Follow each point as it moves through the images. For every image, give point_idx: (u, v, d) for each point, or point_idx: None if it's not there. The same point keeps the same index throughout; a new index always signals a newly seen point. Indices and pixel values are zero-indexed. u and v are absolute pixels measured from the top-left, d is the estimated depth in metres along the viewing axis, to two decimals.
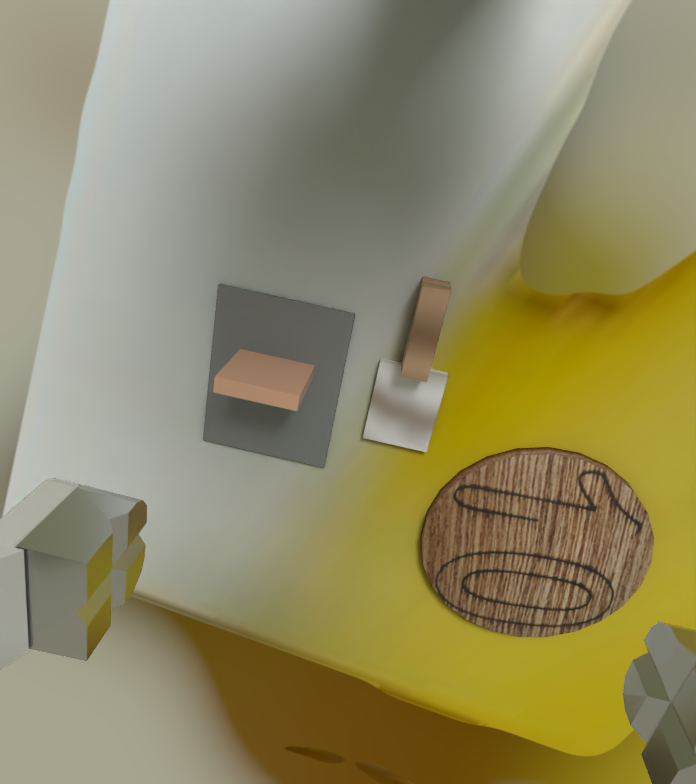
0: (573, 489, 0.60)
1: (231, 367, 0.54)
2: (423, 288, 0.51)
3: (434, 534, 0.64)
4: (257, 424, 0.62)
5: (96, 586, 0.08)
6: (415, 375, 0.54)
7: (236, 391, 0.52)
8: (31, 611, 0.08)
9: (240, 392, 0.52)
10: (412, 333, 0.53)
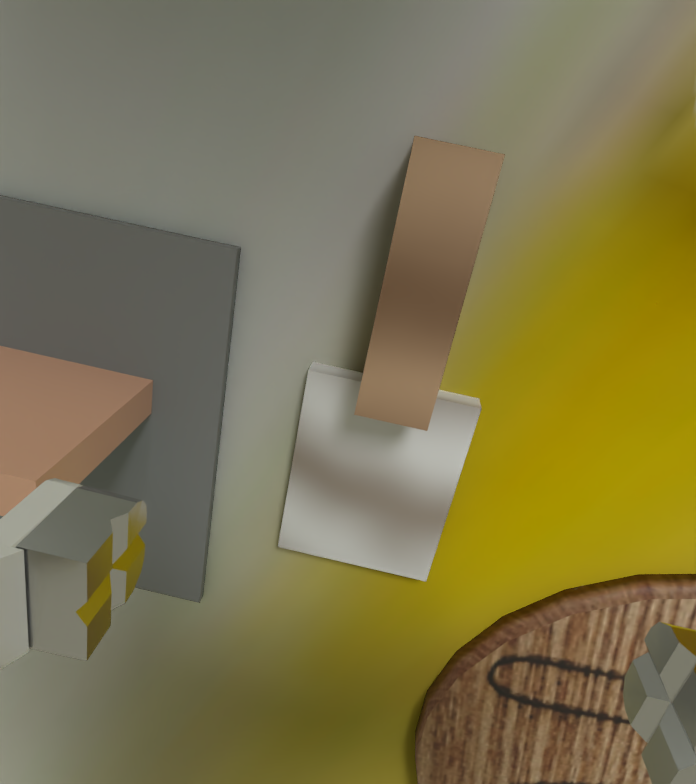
0: None
1: None
2: (416, 145, 0.16)
3: (442, 746, 0.29)
4: None
5: (96, 586, 0.08)
6: (395, 411, 0.19)
7: None
8: (31, 611, 0.08)
9: None
10: (384, 292, 0.18)
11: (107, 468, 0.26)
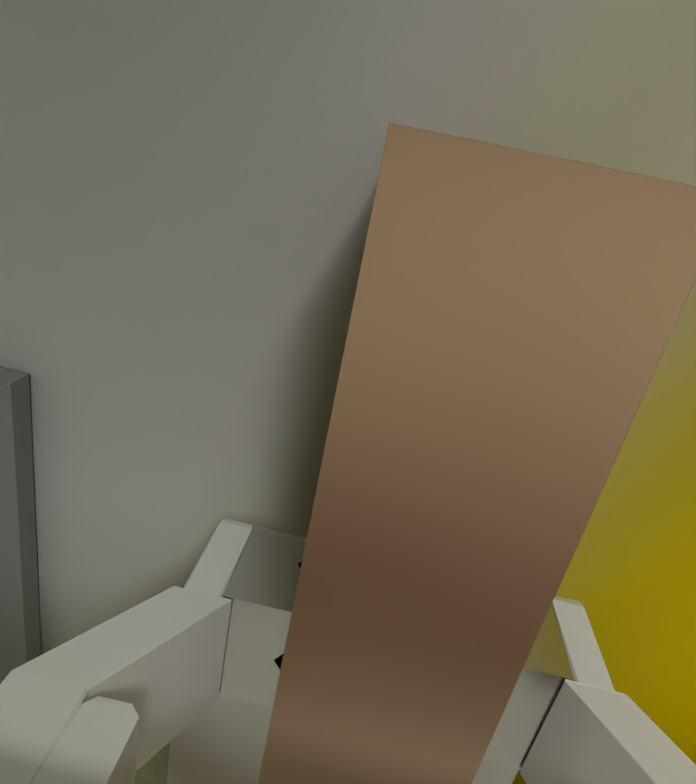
0: None
1: None
2: (396, 159, 0.04)
3: None
4: None
5: None
6: None
7: None
8: (228, 659, 0.07)
9: None
10: (308, 585, 0.06)
11: None
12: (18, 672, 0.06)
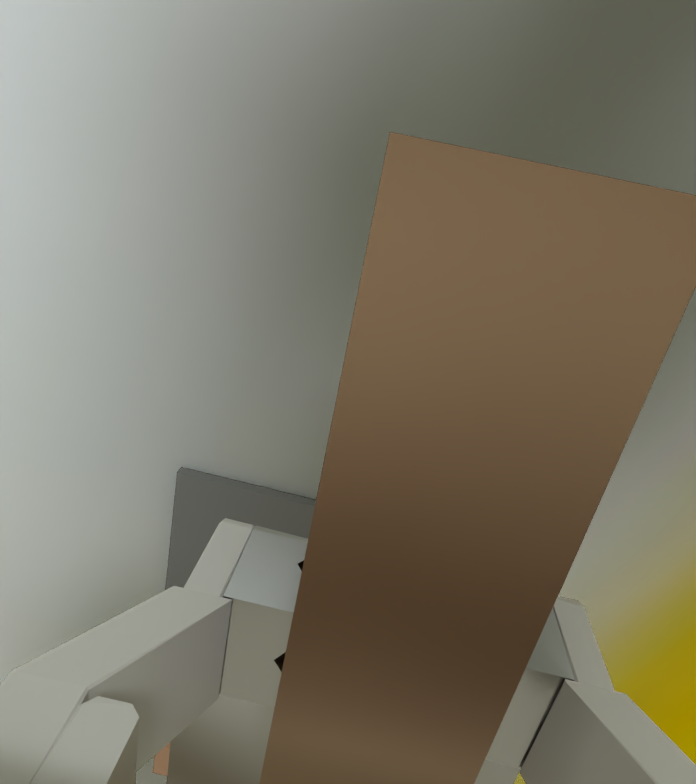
0: None
1: None
2: (396, 168, 0.04)
3: None
4: None
5: None
6: None
7: None
8: (228, 659, 0.07)
9: None
10: (309, 590, 0.06)
11: None
12: (18, 671, 0.06)
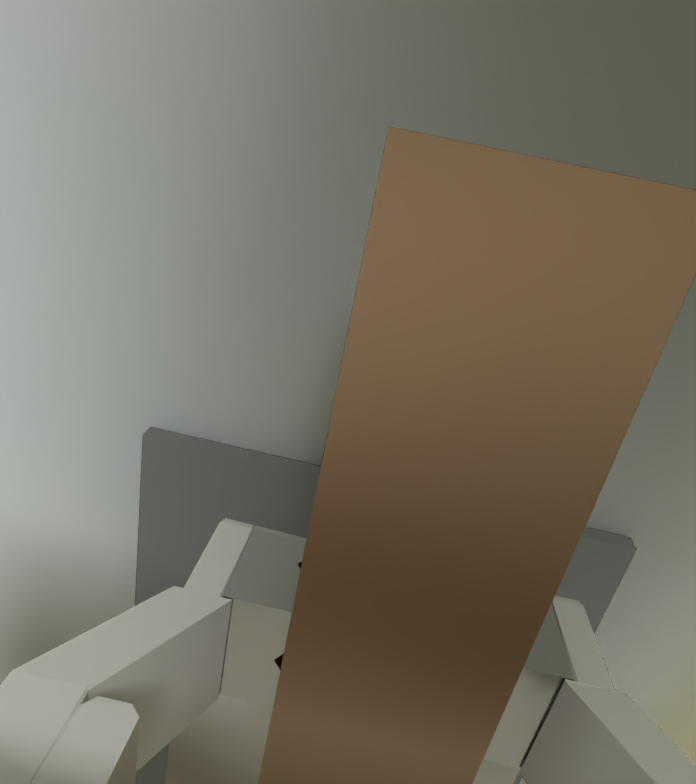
0: None
1: None
2: (395, 162, 0.04)
3: None
4: None
5: None
6: None
7: None
8: (228, 659, 0.07)
9: None
10: (308, 586, 0.06)
11: None
12: (18, 672, 0.06)
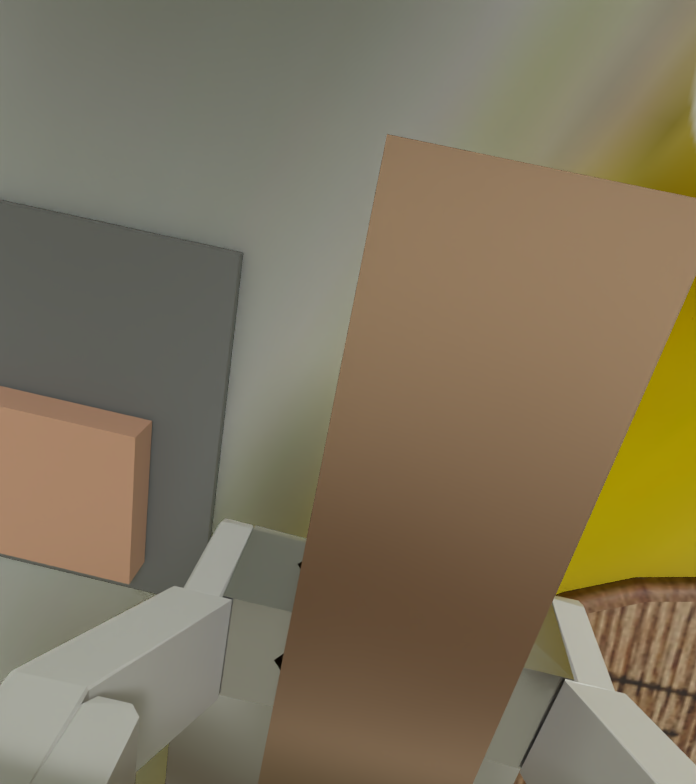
0: None
1: None
2: (393, 170, 0.04)
3: None
4: None
5: None
6: None
7: None
8: (228, 659, 0.07)
9: None
10: (307, 591, 0.06)
11: None
12: (18, 671, 0.06)
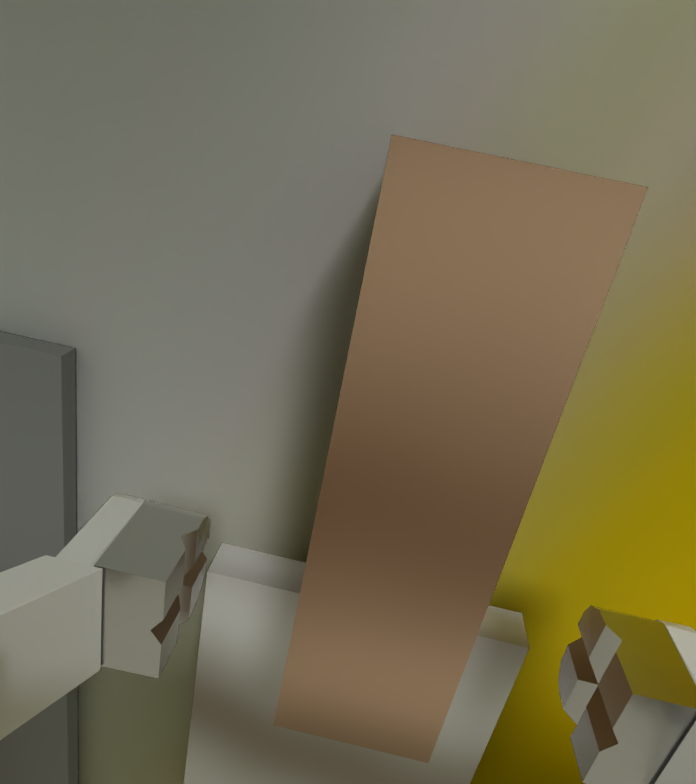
0: None
1: None
2: (396, 161, 0.06)
3: None
4: None
5: (169, 604, 0.08)
6: (360, 726, 0.09)
7: None
8: (105, 629, 0.07)
9: None
10: (326, 506, 0.08)
11: None
12: None
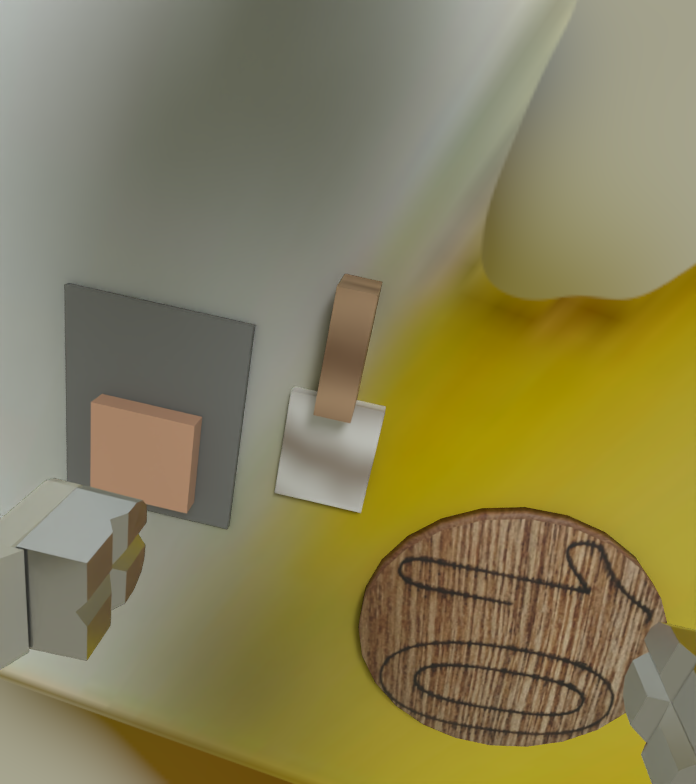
0: (559, 565, 0.44)
1: (99, 463, 0.44)
2: (337, 290, 0.35)
3: (374, 618, 0.48)
4: None
5: (96, 586, 0.08)
6: (334, 413, 0.38)
7: None
8: (31, 611, 0.08)
9: None
10: (326, 355, 0.37)
11: None
12: None
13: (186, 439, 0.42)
